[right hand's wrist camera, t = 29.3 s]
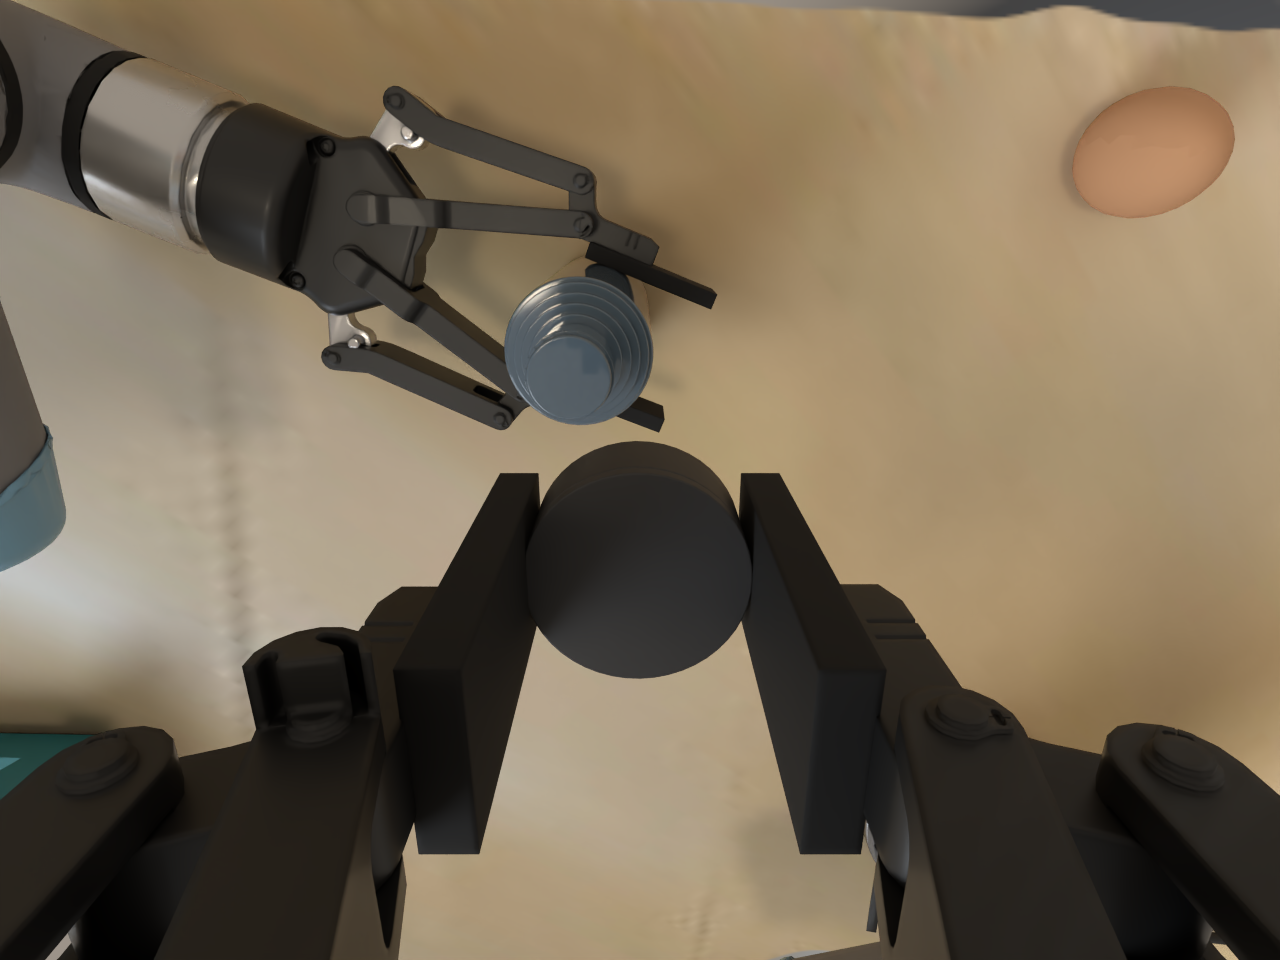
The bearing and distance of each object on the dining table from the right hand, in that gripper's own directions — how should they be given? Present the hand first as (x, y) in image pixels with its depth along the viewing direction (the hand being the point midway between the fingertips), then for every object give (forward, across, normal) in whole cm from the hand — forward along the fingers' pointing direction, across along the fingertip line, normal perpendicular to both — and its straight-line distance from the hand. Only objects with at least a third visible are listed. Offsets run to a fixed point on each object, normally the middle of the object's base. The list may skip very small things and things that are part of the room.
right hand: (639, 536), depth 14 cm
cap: (-2, 0, 0) cm, 2 cm away
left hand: (+23, -2, +1) cm, 24 cm away
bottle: (+30, +2, -1) cm, 30 cm away
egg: (+30, -26, -9) cm, 41 cm away
